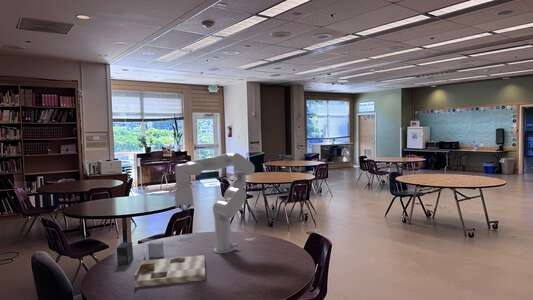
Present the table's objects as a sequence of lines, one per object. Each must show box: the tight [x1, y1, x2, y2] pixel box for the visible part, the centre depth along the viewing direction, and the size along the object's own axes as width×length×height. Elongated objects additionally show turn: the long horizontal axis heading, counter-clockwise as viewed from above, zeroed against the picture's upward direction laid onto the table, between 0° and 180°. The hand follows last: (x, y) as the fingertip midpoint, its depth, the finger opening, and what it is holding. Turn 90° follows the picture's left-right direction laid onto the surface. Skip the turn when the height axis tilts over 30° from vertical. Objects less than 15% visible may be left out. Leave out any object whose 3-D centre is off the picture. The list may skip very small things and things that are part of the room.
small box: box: [116, 241, 134, 266], centre depth 214 cm, size 11×6×10 cm, turn 5°
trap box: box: [133, 254, 206, 288], centre depth 195 cm, size 34×30×6 cm
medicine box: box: [147, 241, 165, 258], centre depth 222 cm, size 8×4×9 cm, turn 84°
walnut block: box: [141, 259, 155, 272], centre depth 192 cm, size 6×6×4 cm
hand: (185, 216), depth 212 cm, fingers closed
